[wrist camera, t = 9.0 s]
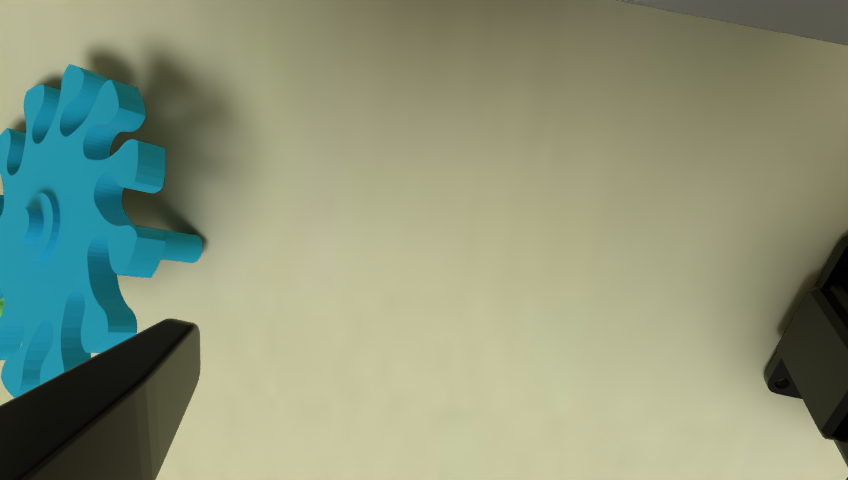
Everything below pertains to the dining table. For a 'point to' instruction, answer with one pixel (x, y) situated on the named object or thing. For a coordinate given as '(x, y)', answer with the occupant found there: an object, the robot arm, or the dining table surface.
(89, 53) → the dining table surface
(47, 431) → the robot arm
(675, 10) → the bay
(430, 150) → the dining table surface
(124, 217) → the gear
